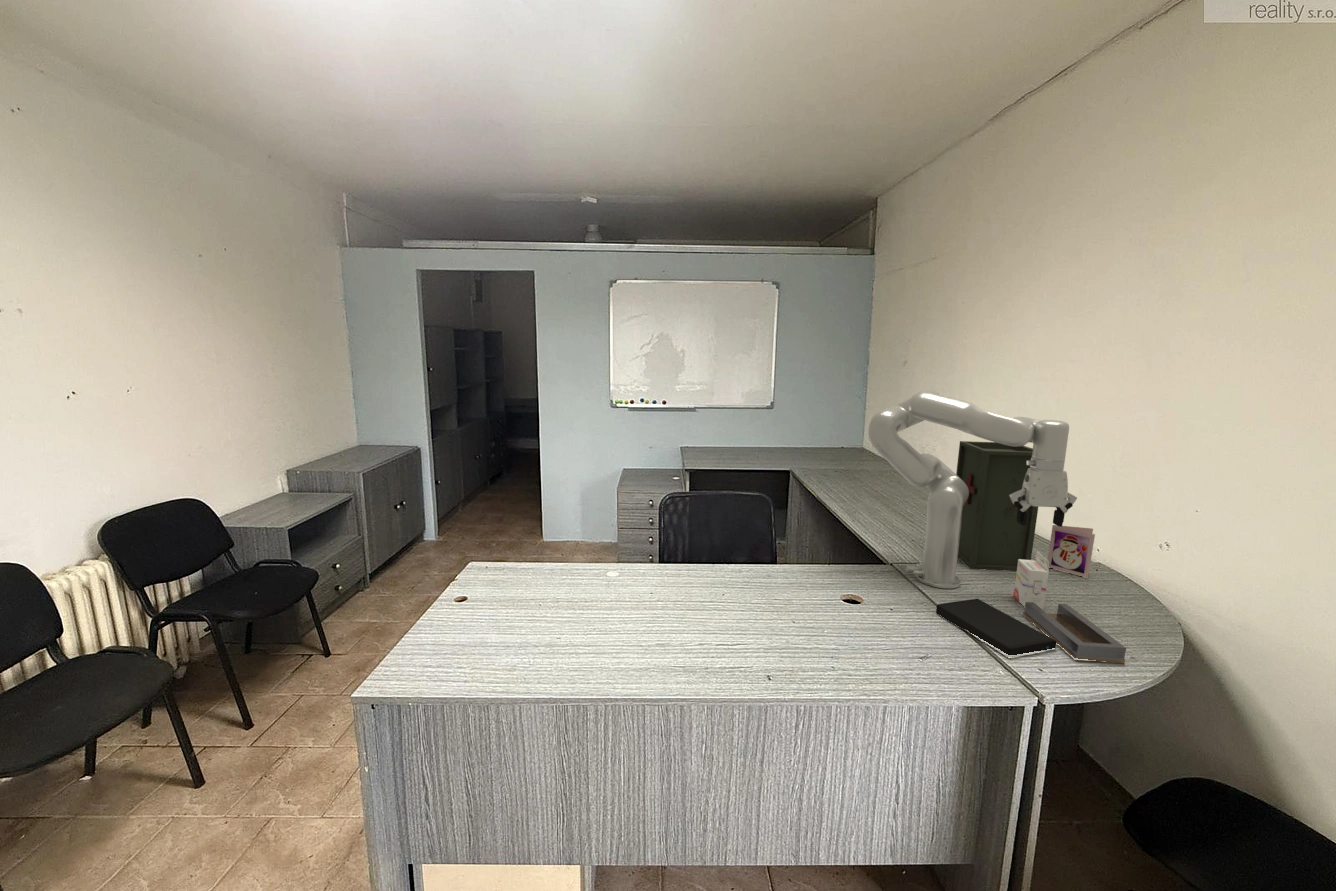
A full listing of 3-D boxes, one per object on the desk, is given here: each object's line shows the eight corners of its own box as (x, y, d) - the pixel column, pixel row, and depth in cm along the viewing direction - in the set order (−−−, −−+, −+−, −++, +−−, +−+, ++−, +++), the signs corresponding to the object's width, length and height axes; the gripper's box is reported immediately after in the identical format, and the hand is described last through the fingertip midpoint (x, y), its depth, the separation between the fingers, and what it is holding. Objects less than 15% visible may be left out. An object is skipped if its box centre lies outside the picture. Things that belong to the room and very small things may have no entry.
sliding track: (1074, 660, 127) (1077, 645, 127) (1022, 615, 149) (1024, 601, 148) (1124, 663, 126) (1127, 648, 126) (1065, 617, 148) (1067, 604, 147)
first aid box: (947, 548, 198) (959, 441, 191) (1000, 551, 197) (1015, 442, 189) (970, 569, 180) (984, 451, 173) (1029, 571, 178) (1046, 452, 171)
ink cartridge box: (1011, 595, 161) (1018, 548, 158) (1030, 597, 160) (1037, 550, 157) (1024, 609, 153) (1031, 559, 150) (1044, 611, 152) (1051, 561, 149)
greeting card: (1045, 568, 182) (1051, 525, 179) (1053, 563, 186) (1059, 521, 183) (1086, 579, 173) (1094, 535, 170) (1093, 574, 177) (1101, 530, 175)
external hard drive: (977, 608, 154) (978, 598, 153) (1055, 652, 132) (1056, 640, 131) (935, 614, 150) (937, 604, 149) (1009, 660, 128) (1011, 648, 127)
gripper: (1022, 467, 146) (1014, 527, 149) (1089, 468, 145) (1080, 530, 148) (1007, 461, 154) (1000, 519, 157) (1071, 463, 152) (1063, 521, 155)
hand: (1039, 524), depth 152 cm, fingers open, 9 cm apart
